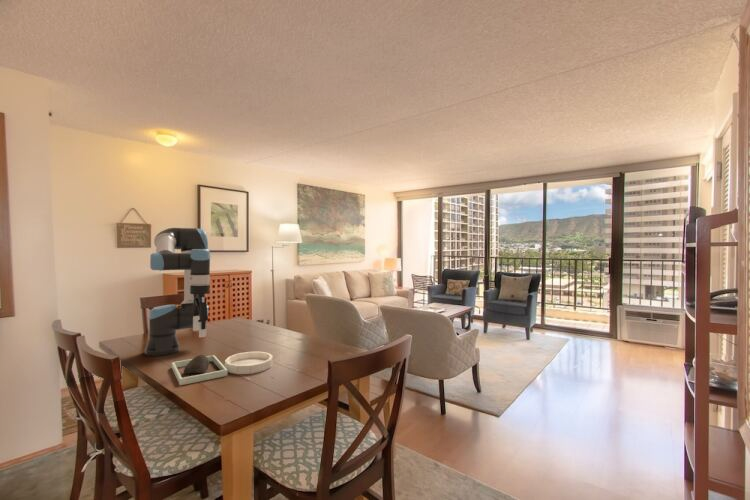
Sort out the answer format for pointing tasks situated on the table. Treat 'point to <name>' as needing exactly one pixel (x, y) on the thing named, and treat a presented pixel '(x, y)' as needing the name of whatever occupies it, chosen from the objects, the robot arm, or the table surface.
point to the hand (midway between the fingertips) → (199, 333)
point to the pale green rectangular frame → (202, 376)
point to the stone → (197, 365)
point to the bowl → (248, 362)
